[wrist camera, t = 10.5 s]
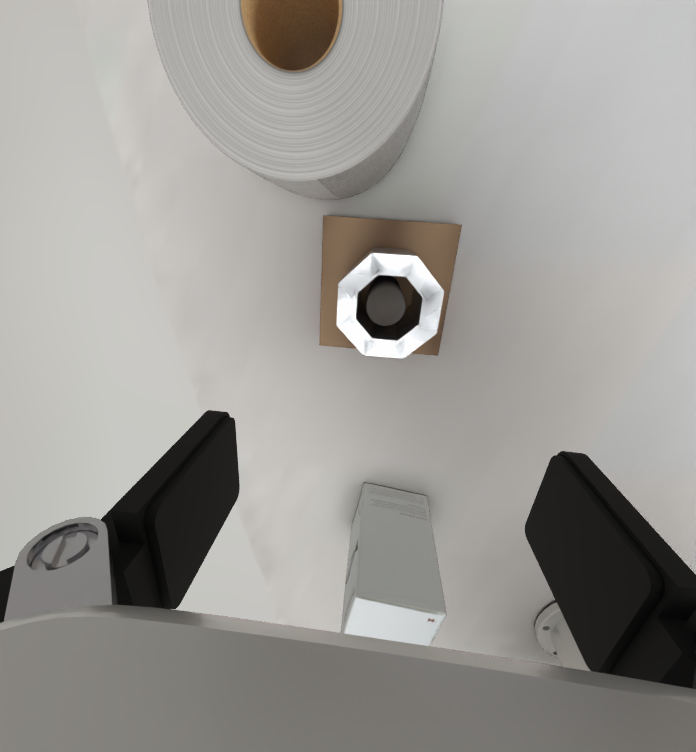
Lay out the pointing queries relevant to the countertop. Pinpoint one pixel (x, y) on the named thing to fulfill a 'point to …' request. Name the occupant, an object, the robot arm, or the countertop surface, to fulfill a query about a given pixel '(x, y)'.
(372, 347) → the hub
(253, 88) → the toilet paper roll
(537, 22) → the countertop surface
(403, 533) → the supplement box
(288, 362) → the countertop surface
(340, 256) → the shaft block
